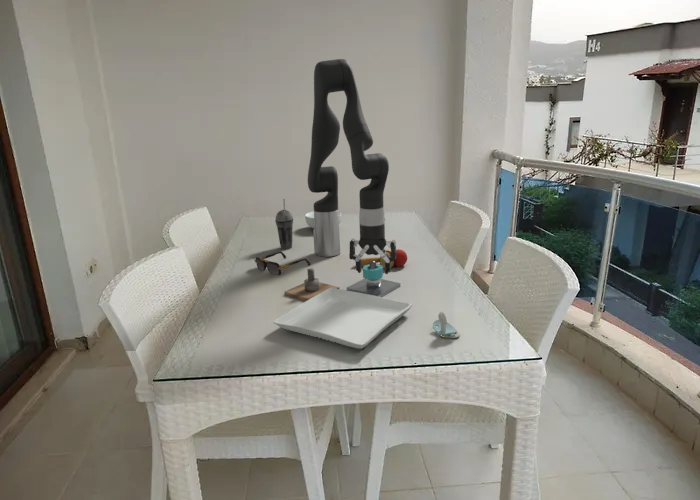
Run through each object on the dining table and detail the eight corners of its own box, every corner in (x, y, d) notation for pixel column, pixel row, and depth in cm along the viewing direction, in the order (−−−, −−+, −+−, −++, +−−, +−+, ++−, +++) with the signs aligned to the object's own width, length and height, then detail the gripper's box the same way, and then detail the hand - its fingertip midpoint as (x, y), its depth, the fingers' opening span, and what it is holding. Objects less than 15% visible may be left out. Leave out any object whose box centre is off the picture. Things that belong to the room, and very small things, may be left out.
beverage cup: (274, 249, 197) (269, 200, 191) (283, 244, 203) (279, 197, 197) (290, 251, 194) (286, 201, 188) (298, 245, 200) (295, 197, 194)
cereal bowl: (341, 232, 217) (340, 217, 215) (304, 234, 218) (303, 218, 216) (342, 223, 234) (341, 209, 231) (307, 224, 234) (306, 210, 232)
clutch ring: (361, 279, 149) (361, 270, 148) (365, 272, 154) (365, 263, 153) (380, 280, 147) (380, 270, 146) (383, 273, 153) (383, 264, 152)
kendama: (357, 274, 169) (408, 266, 167) (354, 256, 168) (406, 248, 166) (358, 271, 176) (408, 263, 175) (355, 254, 176) (405, 246, 174)
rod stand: (284, 294, 150) (282, 271, 148) (311, 282, 159) (309, 260, 157) (313, 303, 143) (311, 279, 141) (339, 290, 152) (338, 267, 149)
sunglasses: (310, 266, 176) (309, 253, 175) (277, 278, 166) (276, 264, 164) (285, 259, 185) (284, 246, 184) (253, 269, 175) (251, 256, 174)
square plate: (363, 359, 112) (363, 344, 110) (272, 334, 126) (270, 320, 124) (413, 314, 133) (413, 301, 132) (331, 297, 147) (330, 285, 146)
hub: (346, 290, 151) (345, 263, 148) (369, 279, 160) (368, 252, 157) (378, 298, 144) (377, 270, 141) (400, 286, 153) (400, 258, 150)
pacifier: (452, 327, 125) (430, 329, 124) (453, 304, 123) (431, 306, 122) (464, 339, 118) (441, 342, 117) (466, 316, 116) (442, 318, 115)
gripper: (345, 224, 144) (348, 275, 149) (393, 225, 141) (394, 278, 146) (351, 218, 151) (353, 267, 156) (397, 219, 148) (397, 269, 152)
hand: (373, 272), depth 151 cm, fingers open, 8 cm apart
